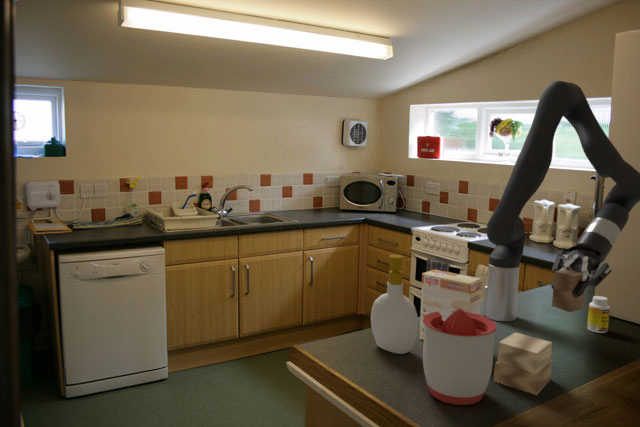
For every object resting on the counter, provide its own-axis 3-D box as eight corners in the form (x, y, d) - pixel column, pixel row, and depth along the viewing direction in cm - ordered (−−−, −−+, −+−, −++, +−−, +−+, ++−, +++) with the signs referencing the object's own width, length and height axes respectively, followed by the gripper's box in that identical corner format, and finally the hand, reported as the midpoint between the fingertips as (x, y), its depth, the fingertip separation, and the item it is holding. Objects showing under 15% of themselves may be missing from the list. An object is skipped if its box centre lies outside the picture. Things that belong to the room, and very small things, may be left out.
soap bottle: (425, 351, 144) (429, 257, 140) (406, 361, 137) (410, 262, 133) (382, 337, 153) (385, 248, 149) (362, 346, 147) (365, 253, 143)
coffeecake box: (479, 346, 147) (483, 278, 144) (466, 354, 142) (470, 283, 139) (431, 332, 158) (434, 268, 155) (418, 339, 152) (421, 272, 149)
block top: (497, 362, 126) (498, 342, 126) (513, 351, 133) (515, 332, 132) (535, 374, 120) (537, 353, 120) (550, 362, 127) (552, 342, 126)
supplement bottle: (601, 335, 157) (604, 301, 156) (583, 329, 162) (586, 296, 160) (611, 331, 160) (614, 298, 159) (593, 325, 165) (596, 293, 163)
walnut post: (551, 306, 134) (555, 271, 132) (564, 303, 136) (567, 268, 135) (570, 312, 129) (573, 276, 128) (582, 308, 132) (586, 273, 130)
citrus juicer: (476, 374, 130) (480, 295, 127) (502, 411, 113) (508, 321, 110) (412, 374, 130) (415, 295, 127) (429, 411, 113) (433, 321, 110)
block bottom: (493, 382, 127) (494, 362, 126) (509, 368, 134) (510, 350, 134) (536, 396, 121) (538, 375, 120) (550, 380, 128) (552, 361, 127)
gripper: (566, 225, 140) (532, 276, 135) (621, 235, 128) (586, 291, 123) (576, 243, 143) (544, 293, 139) (630, 255, 131) (597, 309, 127)
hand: (564, 292), depth 131 cm, fingers closed on walnut post, 5 cm apart
